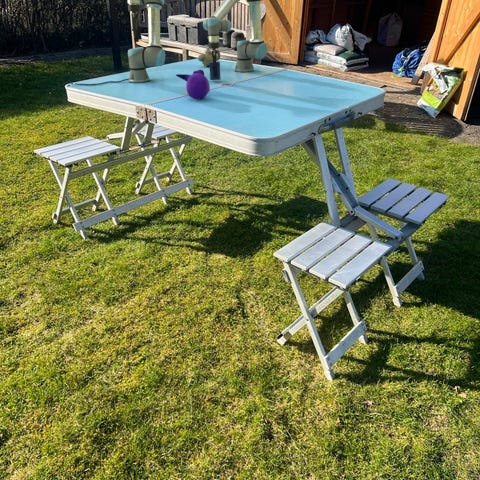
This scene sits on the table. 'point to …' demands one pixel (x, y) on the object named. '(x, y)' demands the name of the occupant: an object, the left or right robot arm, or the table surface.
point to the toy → (196, 84)
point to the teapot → (208, 57)
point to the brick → (212, 71)
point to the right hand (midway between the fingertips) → (215, 76)
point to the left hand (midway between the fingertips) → (138, 40)
